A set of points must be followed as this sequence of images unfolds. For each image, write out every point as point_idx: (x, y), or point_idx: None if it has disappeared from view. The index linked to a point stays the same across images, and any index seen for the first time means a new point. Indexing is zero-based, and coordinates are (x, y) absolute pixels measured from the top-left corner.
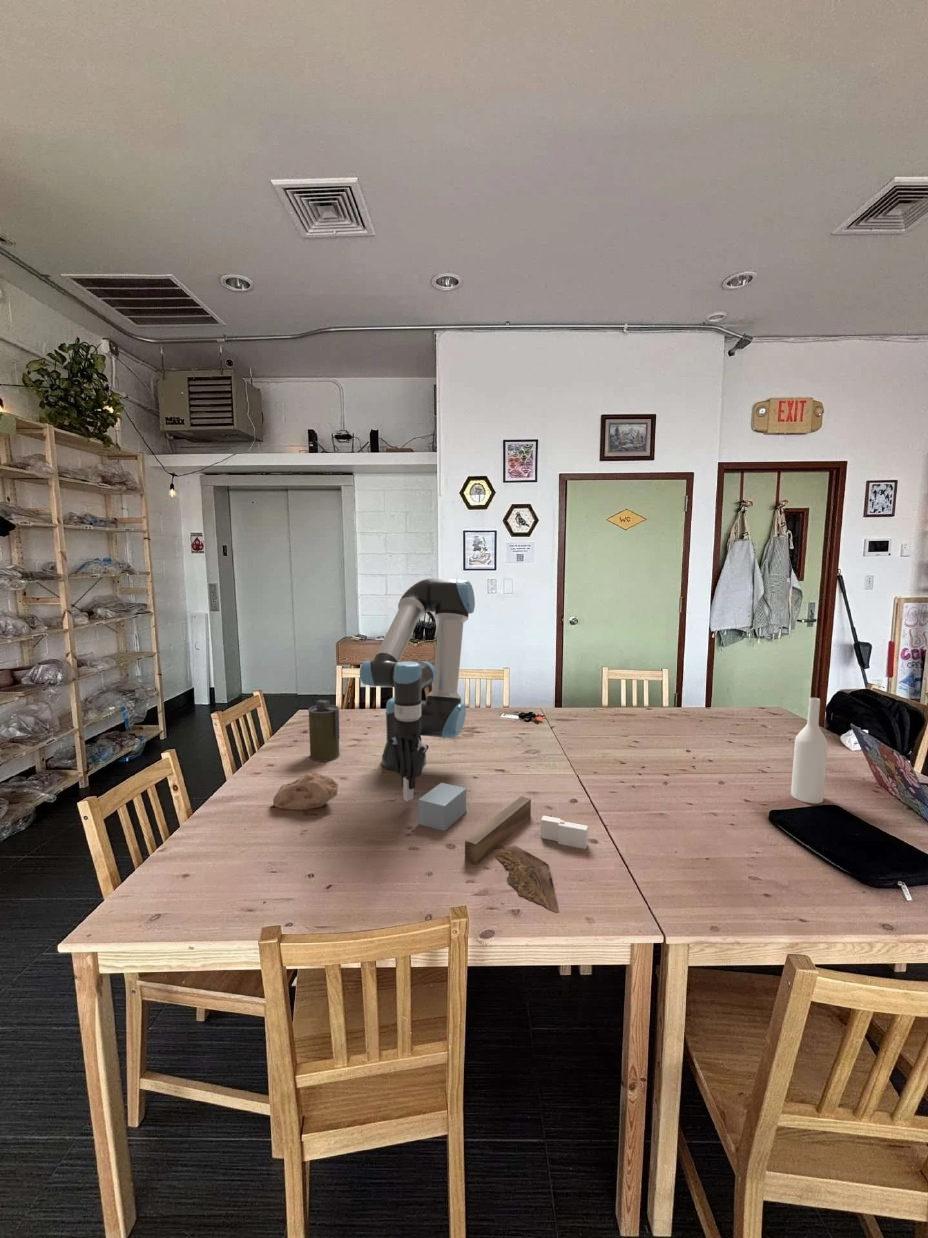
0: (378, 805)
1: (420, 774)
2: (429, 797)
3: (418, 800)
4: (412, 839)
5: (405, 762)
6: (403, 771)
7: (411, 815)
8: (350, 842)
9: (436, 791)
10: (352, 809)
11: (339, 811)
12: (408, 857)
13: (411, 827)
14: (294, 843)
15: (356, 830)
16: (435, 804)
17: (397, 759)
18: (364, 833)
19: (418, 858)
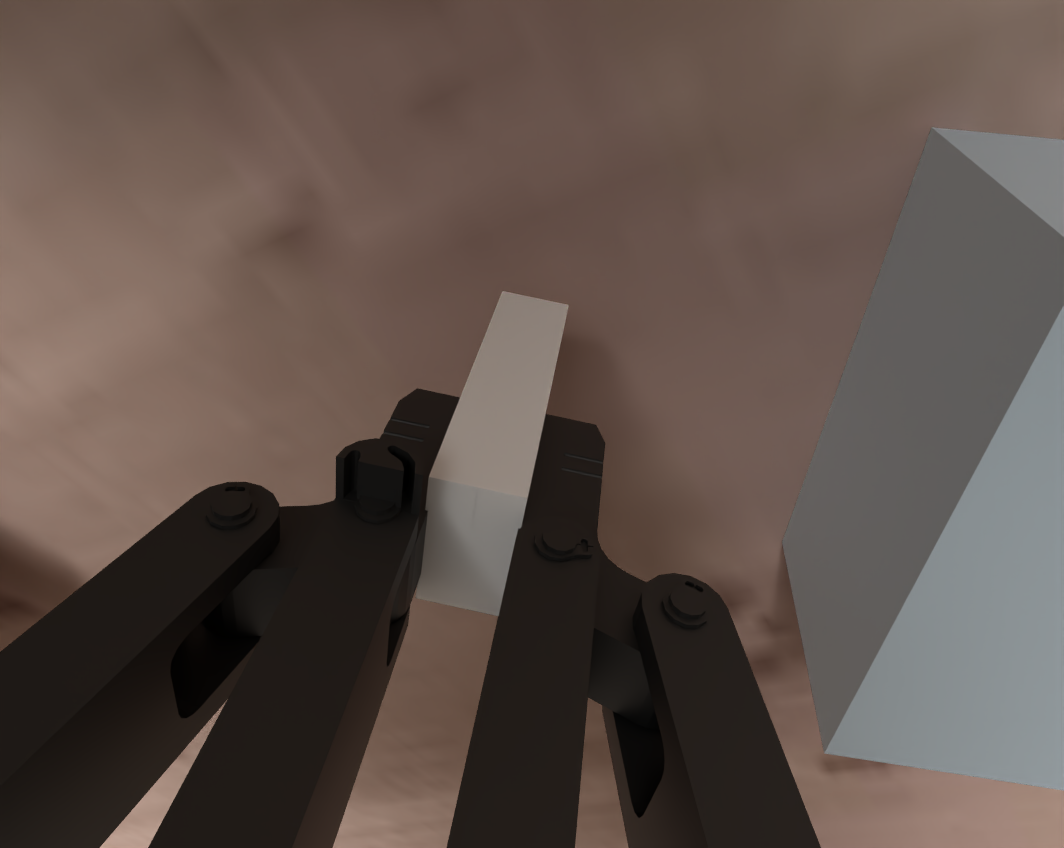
0: (257, 378)
1: (720, 625)
2: (954, 706)
3: (823, 744)
4: (810, 699)
5: (332, 820)
6: (385, 685)
7: (655, 444)
8: (458, 769)
9: (1033, 571)
10: (140, 496)
11: (95, 542)
12: (851, 816)
13: (741, 593)
14: None
15: (397, 687)
16: (1061, 783)
17: (97, 830)
18: (466, 701)
19: (915, 817)
